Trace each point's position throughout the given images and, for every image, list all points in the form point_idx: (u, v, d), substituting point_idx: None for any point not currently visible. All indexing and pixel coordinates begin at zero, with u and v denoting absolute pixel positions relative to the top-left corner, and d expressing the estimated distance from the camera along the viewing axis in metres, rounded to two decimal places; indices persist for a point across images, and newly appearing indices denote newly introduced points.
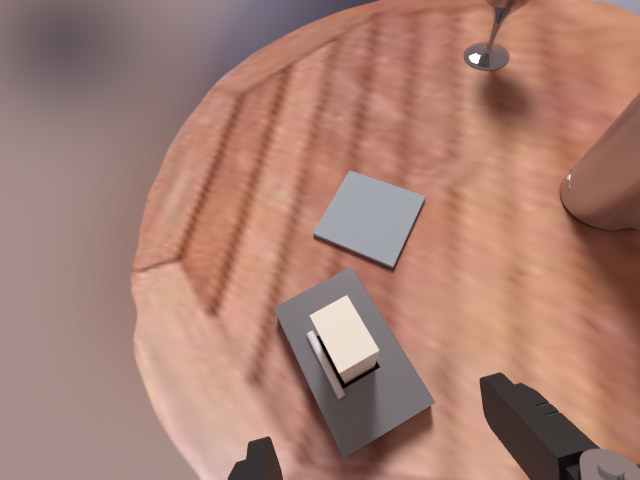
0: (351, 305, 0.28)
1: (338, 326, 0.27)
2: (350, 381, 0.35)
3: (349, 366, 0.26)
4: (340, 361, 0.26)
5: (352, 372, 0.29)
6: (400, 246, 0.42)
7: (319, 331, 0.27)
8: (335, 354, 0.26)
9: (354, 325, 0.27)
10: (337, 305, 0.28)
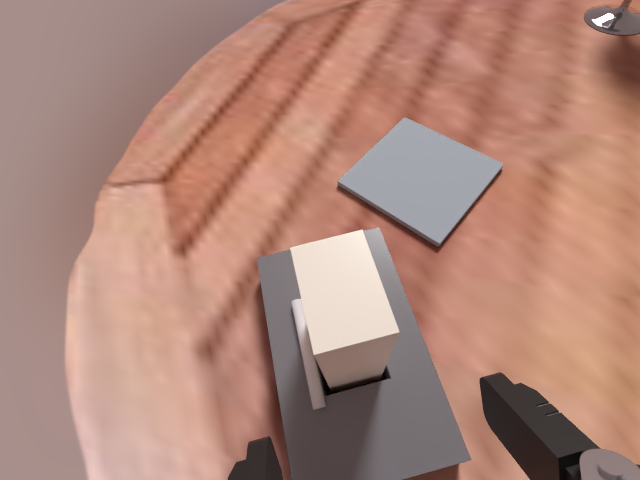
0: (365, 246, 0.15)
1: (335, 275, 0.15)
2: (339, 389, 0.23)
3: (336, 347, 0.13)
4: (321, 333, 0.14)
5: (342, 368, 0.17)
6: (455, 220, 0.29)
7: (299, 276, 0.15)
8: (315, 319, 0.14)
9: (363, 280, 0.15)
10: (341, 241, 0.16)
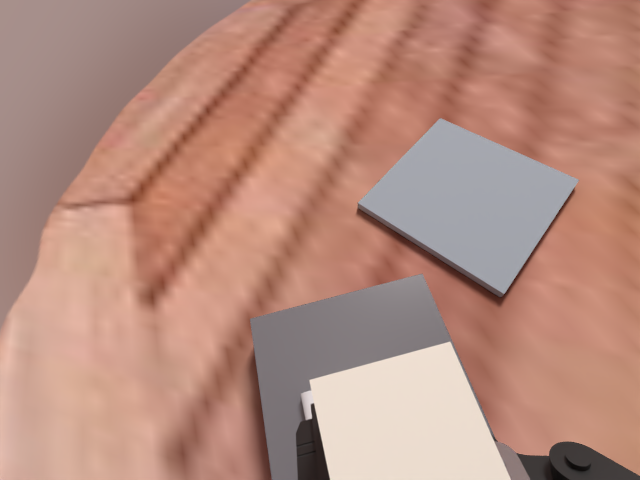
0: (463, 384, 0.08)
1: (406, 453, 0.07)
2: None
3: None
4: None
5: None
6: (522, 259, 0.21)
7: (330, 453, 0.07)
8: None
9: (469, 472, 0.07)
10: (411, 369, 0.08)
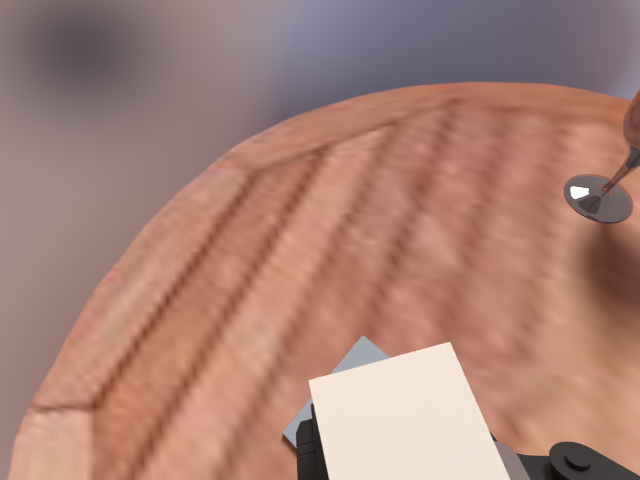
0: (462, 384, 0.08)
1: (406, 454, 0.07)
2: None
3: None
4: None
5: None
6: None
7: (330, 454, 0.07)
8: None
9: (468, 472, 0.07)
10: (410, 369, 0.08)
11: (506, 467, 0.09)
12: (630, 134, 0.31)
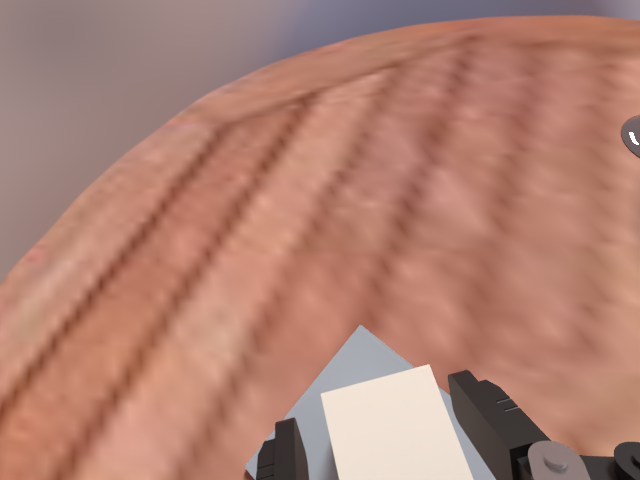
0: (437, 397, 0.10)
1: (393, 450, 0.10)
2: None
3: None
4: None
5: None
6: None
7: (337, 449, 0.10)
8: None
9: (439, 463, 0.09)
10: (398, 385, 0.10)
11: (570, 469, 0.08)
12: None
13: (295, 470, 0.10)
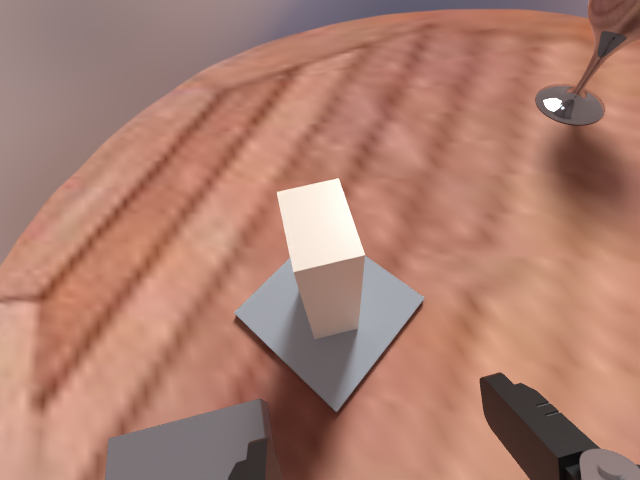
0: (340, 191, 0.18)
1: (314, 212, 0.18)
2: (321, 335, 0.26)
3: (312, 266, 0.16)
4: (300, 256, 0.16)
5: (320, 300, 0.20)
6: (359, 377, 0.25)
7: (283, 213, 0.18)
8: (296, 246, 0.17)
9: (337, 217, 0.17)
10: (320, 187, 0.19)
11: (628, 479, 0.08)
12: (595, 11, 0.30)
13: None
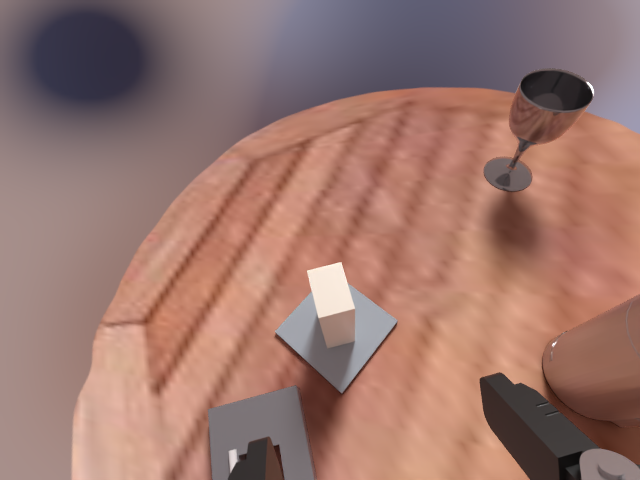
0: (342, 270, 0.33)
1: (328, 283, 0.33)
2: (331, 346, 0.41)
3: (328, 315, 0.31)
4: (321, 309, 0.32)
5: (331, 328, 0.35)
6: (355, 372, 0.40)
7: (311, 284, 0.33)
8: (319, 303, 0.32)
9: (340, 286, 0.33)
10: (331, 268, 0.34)
11: (628, 479, 0.08)
12: (511, 126, 0.45)
13: None
